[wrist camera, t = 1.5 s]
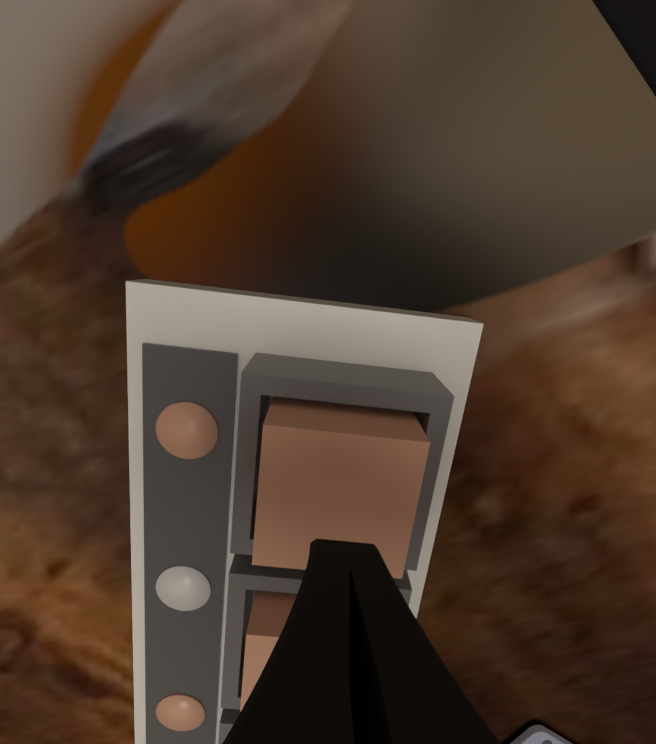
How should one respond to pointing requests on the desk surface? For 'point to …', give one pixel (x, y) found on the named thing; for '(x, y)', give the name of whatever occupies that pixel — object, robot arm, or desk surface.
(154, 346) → the button board
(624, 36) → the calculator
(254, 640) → the button middle
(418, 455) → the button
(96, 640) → the desk surface
